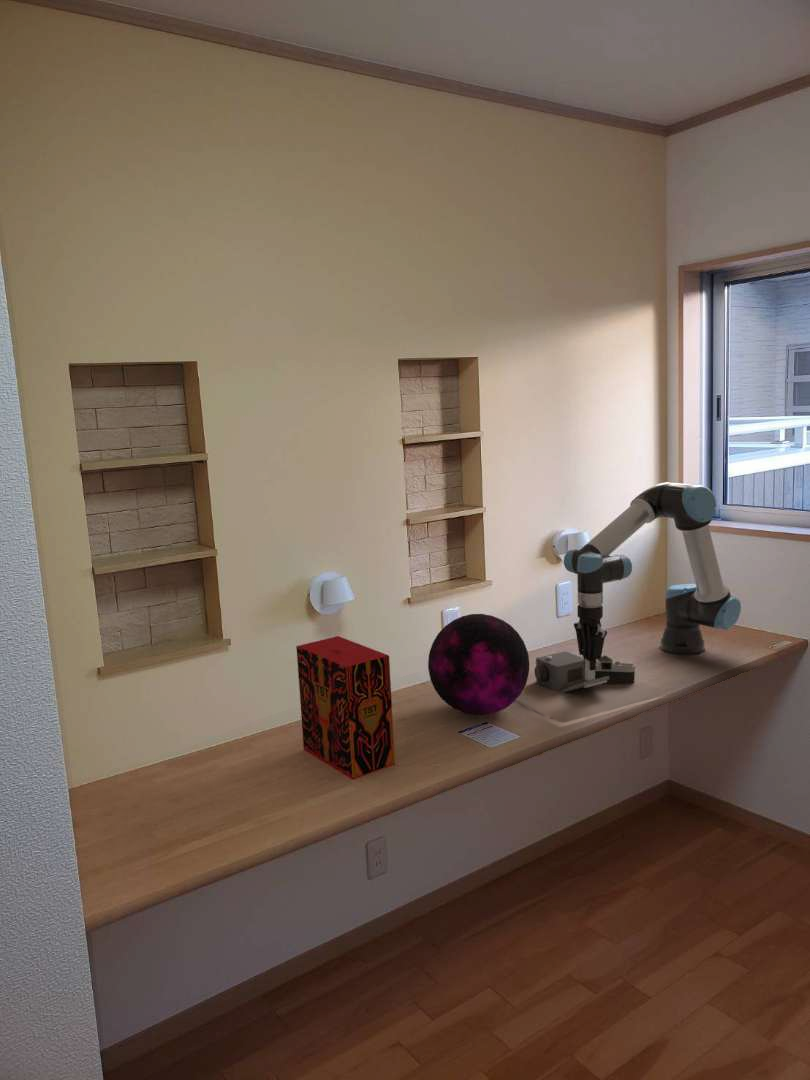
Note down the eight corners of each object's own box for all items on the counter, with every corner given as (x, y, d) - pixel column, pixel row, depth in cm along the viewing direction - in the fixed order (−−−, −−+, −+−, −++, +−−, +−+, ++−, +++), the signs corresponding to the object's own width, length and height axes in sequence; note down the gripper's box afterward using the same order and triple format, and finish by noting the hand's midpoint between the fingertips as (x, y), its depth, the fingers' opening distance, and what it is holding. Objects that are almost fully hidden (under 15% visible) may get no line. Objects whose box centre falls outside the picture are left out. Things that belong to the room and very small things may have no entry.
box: (303, 750, 245) (296, 646, 240) (344, 736, 253) (338, 635, 247) (352, 779, 225) (345, 667, 220) (394, 764, 233) (389, 655, 228)
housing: (565, 677, 293) (565, 648, 291) (587, 686, 283) (587, 657, 282) (532, 685, 287) (531, 656, 285) (553, 695, 277) (553, 665, 276)
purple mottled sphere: (409, 716, 266) (405, 619, 261) (472, 687, 287) (469, 598, 282) (489, 740, 246) (486, 636, 240) (550, 707, 267) (548, 611, 262)
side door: (585, 683, 283) (608, 675, 272) (586, 689, 282) (610, 681, 272) (560, 689, 278) (582, 681, 267) (562, 695, 278) (584, 687, 267)
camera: (632, 682, 289) (633, 652, 288) (636, 690, 280) (637, 659, 279) (582, 680, 291) (583, 651, 290) (585, 688, 282) (586, 657, 281)
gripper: (566, 602, 272) (567, 675, 276) (594, 611, 260) (594, 687, 264) (585, 598, 275) (585, 671, 279) (614, 607, 264) (613, 682, 268)
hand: (590, 679), depth 272 cm, fingers closed
